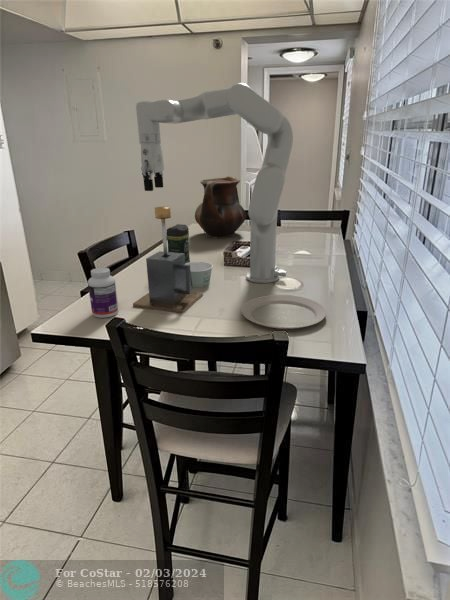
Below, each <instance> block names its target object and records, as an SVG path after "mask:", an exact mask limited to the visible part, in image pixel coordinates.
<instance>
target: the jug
mask: <svg viewBox="0 0 450 600" xmlns="http://www.w3.org/2000/svg"><path fill="white" fill-rule="evenodd" d="M199 181H200V184H201V185H202V186H203V190H204V191H203V193H204V194H203V198H202V202H201V203H200V204H198V206H197V207H196V210H195V213H194V218H195V219H194V220H195V222H196V223H197V224H198V226H199V227H200V228H201V229H202V230H203V232H204V233H205V236H206V237H208V236H209V237H208V238H213V237H217V238H216V239H223V237H226V238H231V237H234V236H235V235H236V232H237V231H238V229H239V228H240V227H242V225H243V223H244V222H245V221H246V219H247V213H246V210H245V209H244V207H243V206H242V205H241V203H240V200H239V199H240V198H239V192H238V185H239V183H241V180H240V179H239V178H236V177H235V178H234V177H232V176H229V175H228V176H225V177H218V178H217V177H216V178H215V177H214V178H206V179H201V180H199ZM233 235H234V236H233ZM230 236H231V237H230Z"/></svg>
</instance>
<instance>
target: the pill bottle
mask: <svg viewBox="0 0 450 600" xmlns="http://www.w3.org/2000/svg"><path fill="white" fill-rule="evenodd" d="M110 274H111V270H110V268H108V267H97V268H92V269H91V270H90V276H91V277H90V278H89V279H88V280H87V286H88V293H89V294H88V295H89V300H90V307H91V314H92V316H94V317H95V318H98V319H106V318H112V317H114V316H116V315H117V314H118V312H119V303H118V294H117V287H116V286H117V285H116V278H115V277H114V276H112V275H110Z"/></svg>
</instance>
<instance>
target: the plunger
mask: <svg viewBox="0 0 450 600" xmlns="http://www.w3.org/2000/svg"><path fill="white" fill-rule="evenodd" d="M171 212H172V211H171V207H170V206H156V207H154V216H155V219H157V220H161V222H160V223H161V232H162V233H161V234H162V247H163V252H164V257H168V254H167V252H168V242H167V235H166V234H167V227H166V226H167V225H166V220H167V219H171V218H172V214H171Z"/></svg>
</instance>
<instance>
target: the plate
mask: <svg viewBox="0 0 450 600" xmlns="http://www.w3.org/2000/svg"><path fill="white" fill-rule="evenodd" d="M272 304H273V305H275V304H289V305H296V306H300V307H303V308H305V309H308V310H309V311H311V312H312V313H313V314H314V320H313V321H311V322H308V323H306V324H302V325H297V326H275V325H271V324H270V325H269V324H266V323H262V322H261V321H258V320H256V319H255V318H254V317H253V315H252V314H253V312H254V311H255V310H256V309H257V308H259V307H262V306H266V305H267V306H268V305H272ZM240 311H241V314H242V315H243V317H245V318H246V319H247V320H249V321H250V322H252V323H254V324H257V325H260V326H264V327H267V328H271V329H276V330H277V329H278V330H279V329H280V330H293V329H294V330H295V329H302V328H305V327H306V328H307V327H310V326H314V325H317V324H318V323H320V322H321V321H323V320H324V319H325V318H326V315H327V311H326V309H325V307H324V306H323V305H322V304H320V303H319V302H317V301H316V300H313V299H310V298H307V297H303V296H299V295H298V296H297V295H288V294H270V295H263V296H259V297H255V298H252V299H250V300H248V301H246V302H245V303H244V304H243V305H242V307H241V310H240Z"/></svg>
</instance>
